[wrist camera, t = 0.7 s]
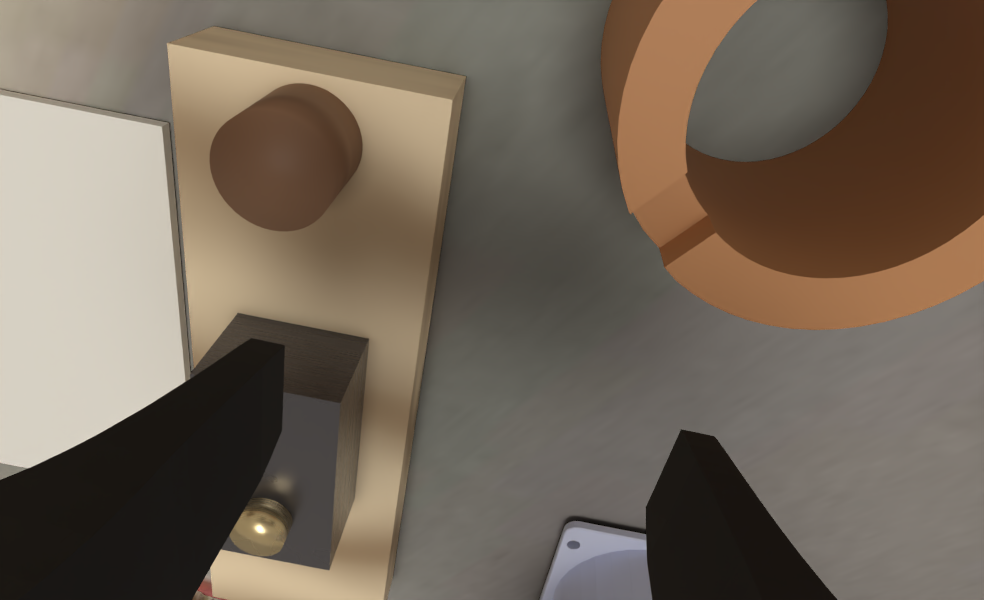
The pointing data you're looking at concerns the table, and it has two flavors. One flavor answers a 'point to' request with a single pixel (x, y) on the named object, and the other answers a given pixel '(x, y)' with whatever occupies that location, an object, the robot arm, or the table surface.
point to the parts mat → (84, 273)
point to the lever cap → (303, 443)
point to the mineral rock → (202, 597)
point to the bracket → (809, 171)
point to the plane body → (318, 247)
